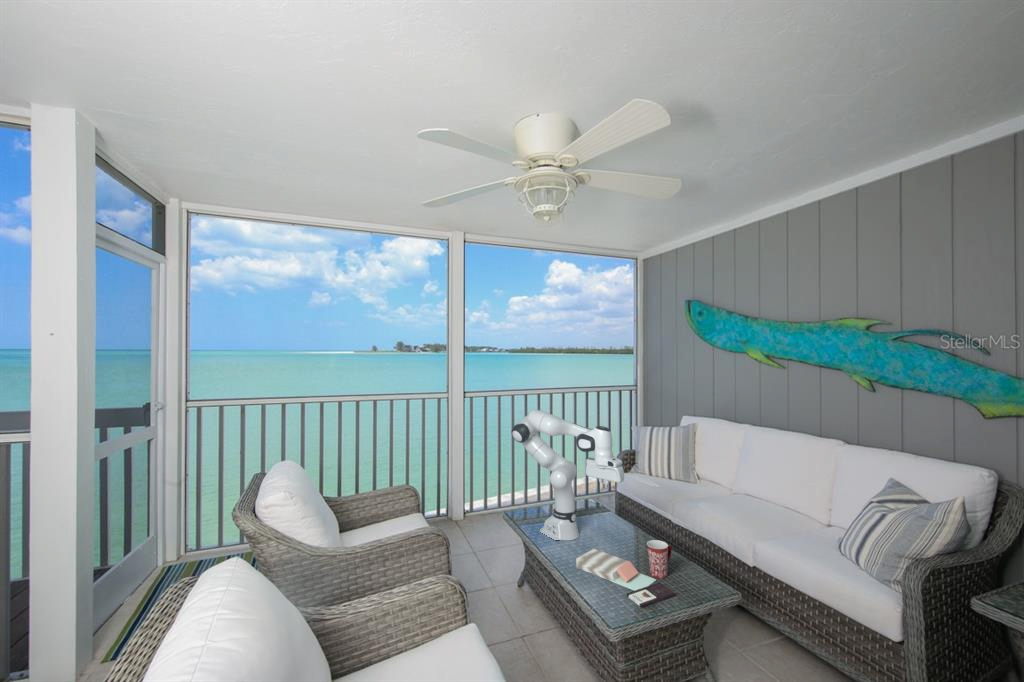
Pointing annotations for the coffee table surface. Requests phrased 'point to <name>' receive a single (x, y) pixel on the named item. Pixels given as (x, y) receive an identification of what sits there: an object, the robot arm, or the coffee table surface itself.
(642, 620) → the coffee table surface
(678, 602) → the coffee table surface
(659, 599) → the chocolate bar
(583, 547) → the coffee table surface
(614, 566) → the striped beige block
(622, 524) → the coffee table surface
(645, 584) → the mat
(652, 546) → the mug
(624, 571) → the salmon pink eraser
